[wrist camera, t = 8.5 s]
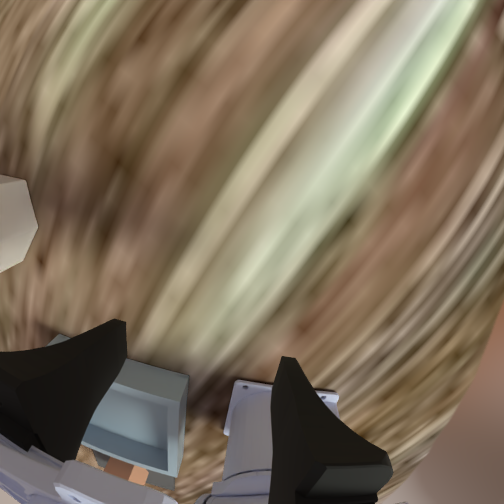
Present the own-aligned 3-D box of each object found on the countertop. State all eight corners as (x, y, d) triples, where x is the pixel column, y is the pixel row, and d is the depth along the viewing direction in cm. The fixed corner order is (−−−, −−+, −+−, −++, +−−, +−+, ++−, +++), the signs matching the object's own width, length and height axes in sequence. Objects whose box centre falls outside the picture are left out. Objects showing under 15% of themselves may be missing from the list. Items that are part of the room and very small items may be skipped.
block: (137, 457, 29) (123, 492, 23) (148, 472, 30) (137, 505, 24) (112, 452, 29) (96, 484, 23) (124, 468, 30) (111, 499, 25)
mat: (174, 457, 29) (173, 460, 28) (174, 488, 32) (173, 490, 31) (87, 427, 29) (85, 429, 28) (99, 463, 32) (98, 465, 31)
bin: (189, 375, 24) (179, 402, 21) (183, 455, 28) (176, 477, 25) (59, 333, 24) (40, 351, 21) (79, 420, 28) (68, 437, 25)
